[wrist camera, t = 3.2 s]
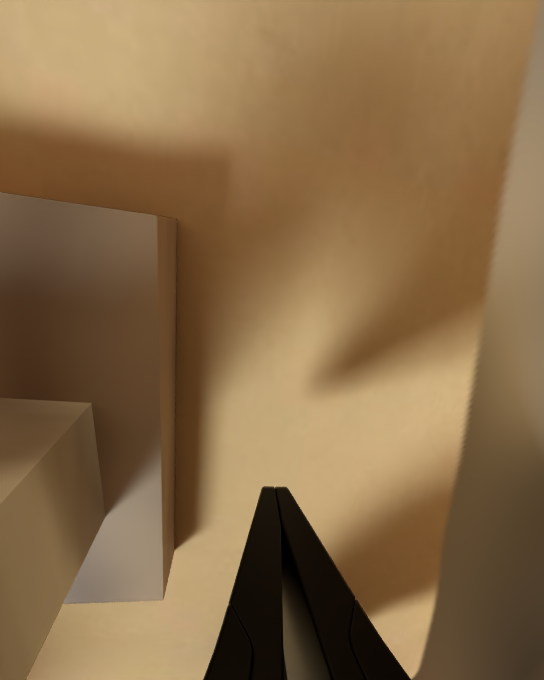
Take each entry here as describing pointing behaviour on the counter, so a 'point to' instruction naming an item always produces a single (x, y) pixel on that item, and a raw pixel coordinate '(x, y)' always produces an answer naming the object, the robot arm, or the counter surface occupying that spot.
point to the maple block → (43, 518)
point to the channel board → (100, 367)
